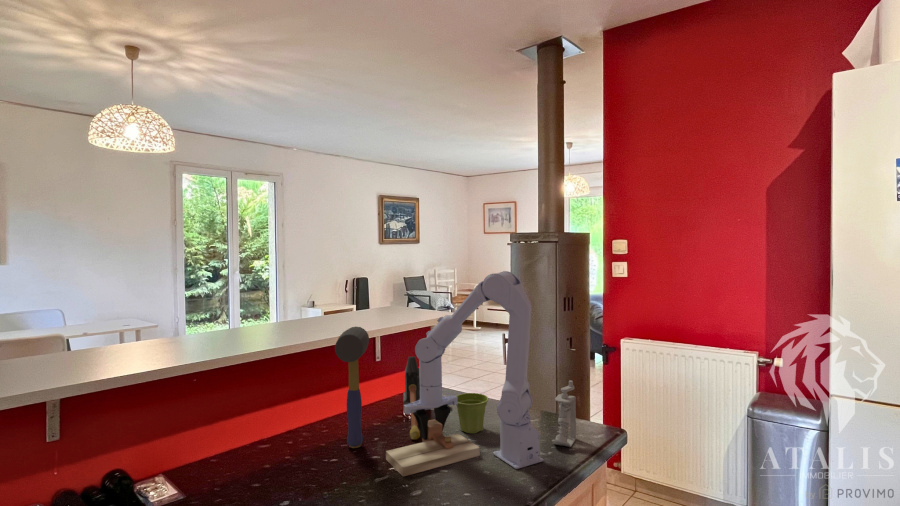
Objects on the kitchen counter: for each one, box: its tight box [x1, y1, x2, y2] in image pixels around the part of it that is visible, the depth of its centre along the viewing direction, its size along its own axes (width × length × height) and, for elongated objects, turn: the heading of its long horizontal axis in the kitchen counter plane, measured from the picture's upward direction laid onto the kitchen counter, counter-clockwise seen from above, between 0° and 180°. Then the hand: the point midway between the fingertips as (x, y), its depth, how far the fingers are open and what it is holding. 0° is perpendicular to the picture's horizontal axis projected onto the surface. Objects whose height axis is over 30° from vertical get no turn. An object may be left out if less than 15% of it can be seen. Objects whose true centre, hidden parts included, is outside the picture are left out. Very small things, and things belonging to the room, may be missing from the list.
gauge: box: [421, 418, 453, 449], centre depth 121 cm, size 11×4×5 cm, turn 29°
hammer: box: [402, 355, 421, 440], centre depth 141 cm, size 6×16×30 cm
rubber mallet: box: [334, 326, 370, 449], centre depth 123 cm, size 12×8×30 cm, turn 2°
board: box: [385, 433, 481, 477], centre depth 116 cm, size 10×20×2 cm, turn 119°
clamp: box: [551, 379, 577, 448], centre depth 123 cm, size 4×10×15 cm, turn 152°
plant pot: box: [455, 392, 489, 434], centre depth 133 cm, size 9×9×9 cm
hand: (431, 436), depth 124 cm, fingers closed on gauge, 4 cm apart
